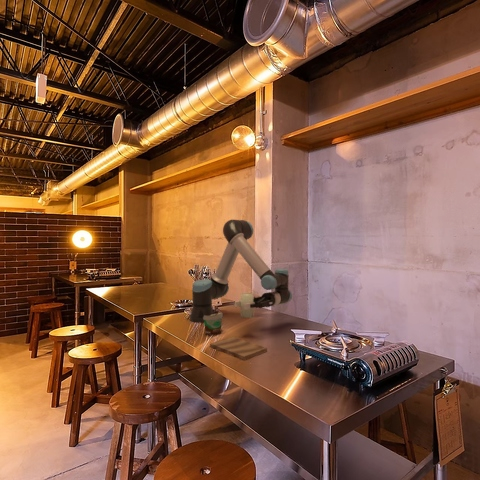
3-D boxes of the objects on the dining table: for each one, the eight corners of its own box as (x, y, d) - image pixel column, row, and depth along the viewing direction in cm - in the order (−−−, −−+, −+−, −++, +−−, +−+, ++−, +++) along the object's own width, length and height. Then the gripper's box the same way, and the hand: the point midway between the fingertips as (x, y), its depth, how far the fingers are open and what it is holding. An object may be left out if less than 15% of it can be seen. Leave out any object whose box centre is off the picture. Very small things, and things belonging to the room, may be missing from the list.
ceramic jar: (238, 316, 159) (238, 294, 159) (246, 313, 163) (247, 292, 163) (247, 318, 154) (247, 296, 154) (256, 316, 159) (256, 294, 159)
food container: (212, 337, 158) (212, 317, 157) (203, 335, 161) (203, 315, 161) (227, 331, 167) (227, 312, 167) (219, 329, 171) (218, 310, 171)
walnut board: (210, 346, 144) (210, 343, 144) (232, 339, 154) (232, 336, 154) (244, 360, 128) (244, 356, 128) (267, 351, 138) (266, 347, 138)
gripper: (284, 309, 165) (254, 317, 148) (257, 303, 178) (226, 309, 162) (284, 294, 164) (254, 301, 148) (257, 289, 178) (226, 295, 162)
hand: (239, 305), depth 155 cm, fingers closed on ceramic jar, 6 cm apart
